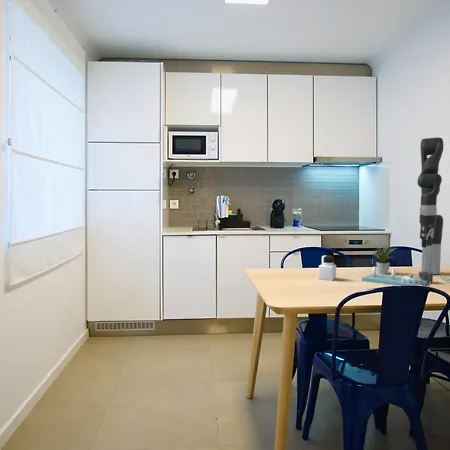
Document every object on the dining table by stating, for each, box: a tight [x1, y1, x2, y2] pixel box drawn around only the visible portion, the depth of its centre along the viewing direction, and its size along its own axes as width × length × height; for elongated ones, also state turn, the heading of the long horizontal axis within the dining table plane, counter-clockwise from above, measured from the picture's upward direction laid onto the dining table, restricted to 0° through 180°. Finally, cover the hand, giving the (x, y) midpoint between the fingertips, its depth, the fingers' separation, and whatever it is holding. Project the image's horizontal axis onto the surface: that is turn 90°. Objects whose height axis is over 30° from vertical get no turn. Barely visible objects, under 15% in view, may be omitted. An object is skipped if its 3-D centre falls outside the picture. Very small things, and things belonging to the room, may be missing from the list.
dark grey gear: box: [418, 270, 434, 284], centre depth 204 cm, size 6×6×5 cm
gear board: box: [361, 266, 428, 286], centre depth 203 cm, size 15×27×7 cm, turn 48°
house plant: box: [371, 245, 397, 275], centre depth 227 cm, size 14×14×16 cm
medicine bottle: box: [318, 254, 337, 281], centre depth 210 cm, size 7×7×12 cm
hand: (426, 246), depth 203 cm, fingers open, 8 cm apart
